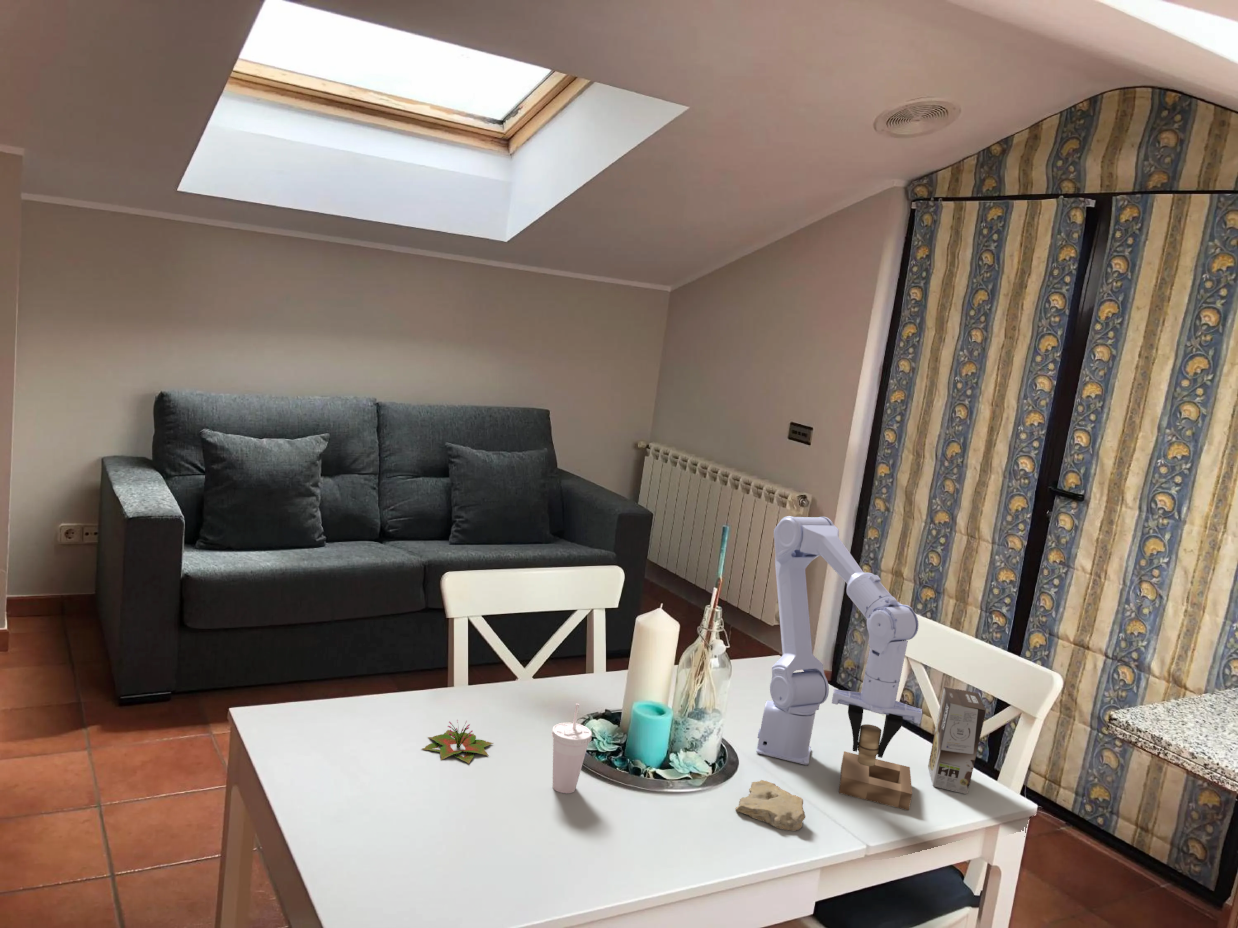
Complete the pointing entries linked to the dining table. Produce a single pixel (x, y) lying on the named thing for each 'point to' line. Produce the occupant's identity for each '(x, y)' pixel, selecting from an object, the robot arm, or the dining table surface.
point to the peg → (868, 744)
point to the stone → (773, 806)
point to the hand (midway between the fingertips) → (867, 751)
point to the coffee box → (956, 739)
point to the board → (876, 781)
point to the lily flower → (458, 744)
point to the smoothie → (569, 753)
